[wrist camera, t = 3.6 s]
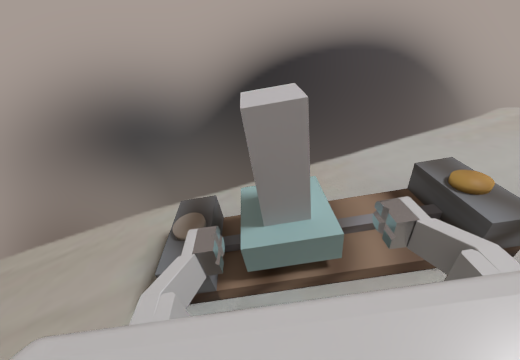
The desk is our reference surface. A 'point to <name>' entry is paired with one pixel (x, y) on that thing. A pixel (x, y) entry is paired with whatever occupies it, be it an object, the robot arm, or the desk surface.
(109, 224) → the desk surface
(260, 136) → the block
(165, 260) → the rail
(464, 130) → the desk surface
